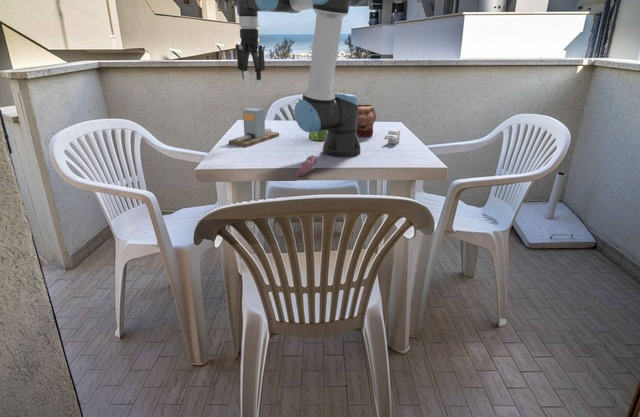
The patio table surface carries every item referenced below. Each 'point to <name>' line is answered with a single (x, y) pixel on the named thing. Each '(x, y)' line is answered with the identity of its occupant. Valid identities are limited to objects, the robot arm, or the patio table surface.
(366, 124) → the decorative planter
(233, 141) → the board
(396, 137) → the power adapter
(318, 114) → the robot arm
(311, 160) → the pink mottled elongated lump
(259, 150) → the patio table surface
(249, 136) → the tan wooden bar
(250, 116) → the module
